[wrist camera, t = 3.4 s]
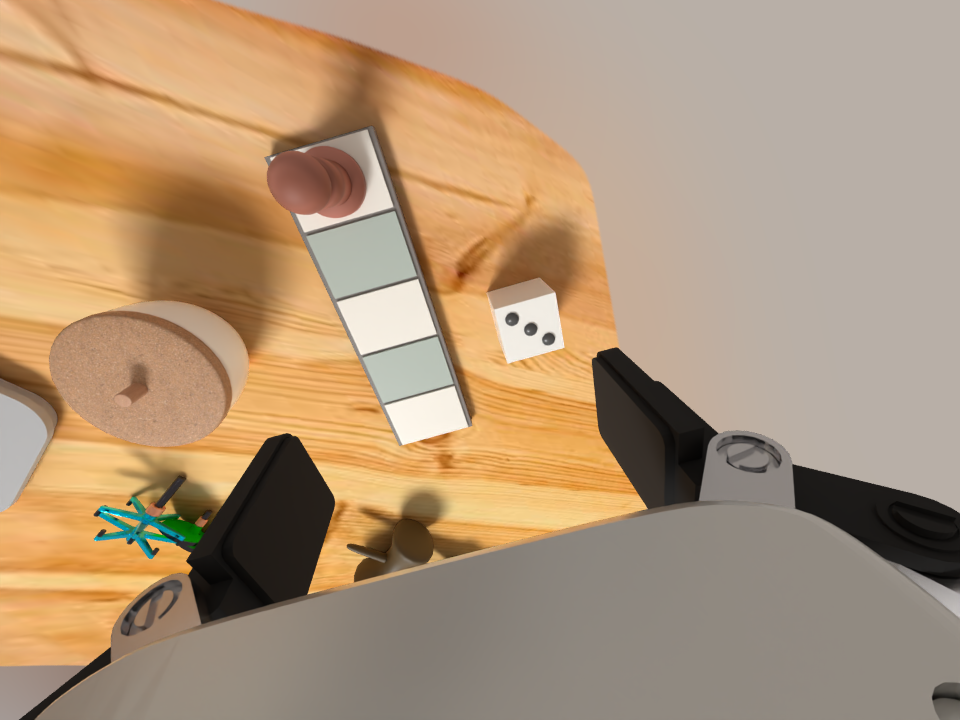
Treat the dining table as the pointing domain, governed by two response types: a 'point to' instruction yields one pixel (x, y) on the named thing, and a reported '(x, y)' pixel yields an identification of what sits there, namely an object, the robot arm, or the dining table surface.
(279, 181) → the pawn
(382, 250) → the track board
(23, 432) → the tablet
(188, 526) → the stick construction toy
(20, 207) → the dining table surface
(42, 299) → the dining table surface
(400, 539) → the kendama
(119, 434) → the lidded jar
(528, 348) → the die
